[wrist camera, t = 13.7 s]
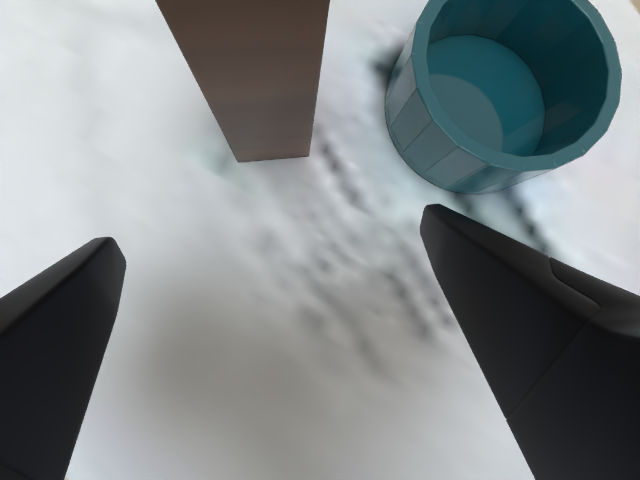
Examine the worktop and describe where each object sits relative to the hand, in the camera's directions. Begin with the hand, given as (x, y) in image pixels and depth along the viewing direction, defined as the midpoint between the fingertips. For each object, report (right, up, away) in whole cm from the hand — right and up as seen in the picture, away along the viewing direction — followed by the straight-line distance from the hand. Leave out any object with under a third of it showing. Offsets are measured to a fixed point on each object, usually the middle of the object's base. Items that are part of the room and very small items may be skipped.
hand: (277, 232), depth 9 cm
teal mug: (+10, +9, +10) cm, 17 cm away
